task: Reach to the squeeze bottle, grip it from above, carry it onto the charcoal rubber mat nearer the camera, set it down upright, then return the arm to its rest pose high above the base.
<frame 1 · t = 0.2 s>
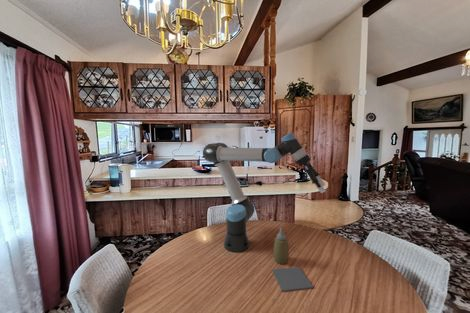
hand: (323, 188, 119), 36 cm above the table, tool tilted 35°, fingers open, 13 cm apart
squeeze bottle: (280, 261, 112), on the table
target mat: (291, 278, 98), on the table
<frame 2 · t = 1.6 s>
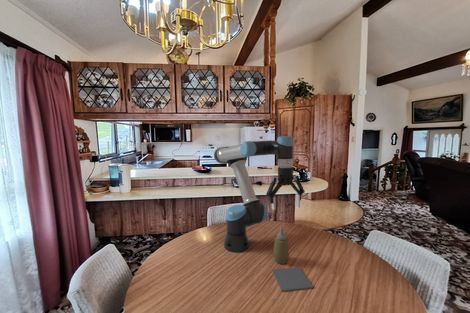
hand: (285, 208, 109), 29 cm above the table, tool pointing down, fingers open, 13 cm apart
nothing on the table moved.
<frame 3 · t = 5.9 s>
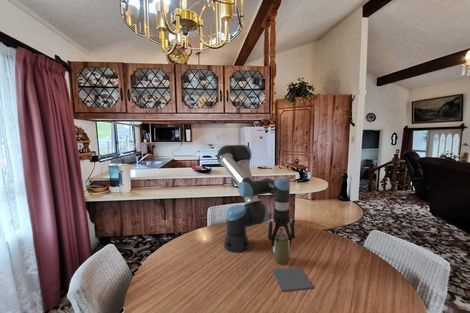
hand: (281, 251, 111), 5 cm above the table, tool pointing down, fingers closed on squeeze bottle, 6 cm apart
squeeze bottle: (281, 261, 112), on the table, touching gripper
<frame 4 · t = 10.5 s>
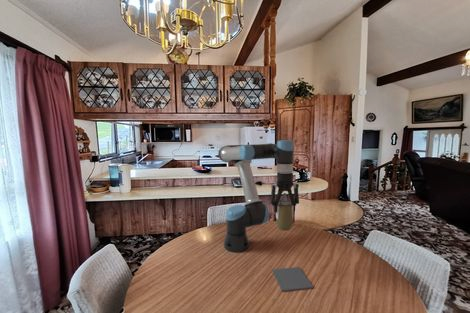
hand: (284, 217, 106), 25 cm above the table, tool pointing down, fingers closed on squeeze bottle, 6 cm apart
squeeze bottle: (284, 228, 106), point 19 cm above the table, touching gripper
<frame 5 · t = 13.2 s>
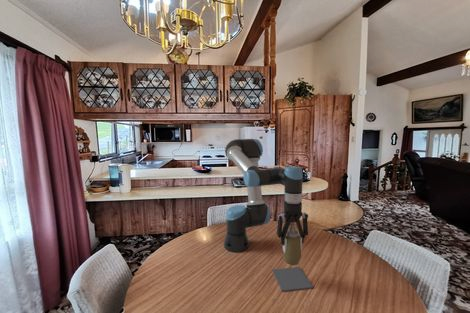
hand: (292, 250, 97), 14 cm above the table, tool pointing down, fingers closed on squeeze bottle, 6 cm apart
squeeze bottle: (292, 262, 97), point 8 cm above the table, touching gripper
when the fingers open (7 cm above the table, at t = 15.4 s): squeeze bottle drops 1 cm, resting on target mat.
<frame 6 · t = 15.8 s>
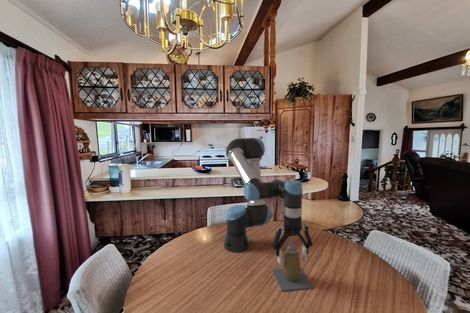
hand: (291, 261, 97), 9 cm above the table, tool pointing down, fingers open, 11 cm apart
squeeze bottle: (291, 277, 98), resting on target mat
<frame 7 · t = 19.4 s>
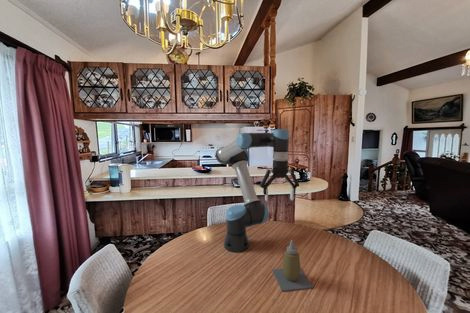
hand: (279, 200, 111), 32 cm above the table, tool pointing down, fingers open, 13 cm apart
nothing on the table moved.
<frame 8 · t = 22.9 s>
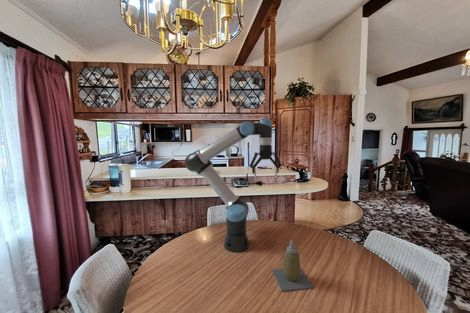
hand: (265, 178, 134), 39 cm above the table, tool pointing down, fingers open, 13 cm apart
nothing on the table moved.
at the end: squeeze bottle inside the target area on the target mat (0.0 cm from its centre), point 0.4 cm above the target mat's base; squeeze bottle tilted 0°; the gripper is holding nothing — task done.
